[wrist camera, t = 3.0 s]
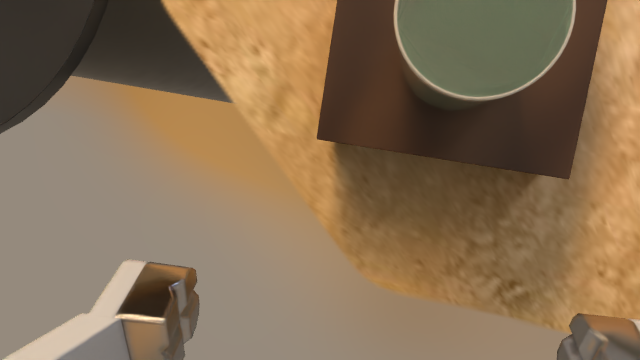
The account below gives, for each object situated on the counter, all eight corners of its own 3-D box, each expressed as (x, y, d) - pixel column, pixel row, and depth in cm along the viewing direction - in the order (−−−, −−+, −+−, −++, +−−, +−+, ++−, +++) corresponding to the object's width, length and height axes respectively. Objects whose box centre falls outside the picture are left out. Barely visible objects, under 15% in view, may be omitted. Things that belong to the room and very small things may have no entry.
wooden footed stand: (331, 138, 36) (316, 139, 30) (357, -34, 35) (347, -68, 29) (541, 171, 34) (569, 179, 28) (578, -12, 32) (616, -44, 26)
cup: (389, 103, 29) (380, 87, 19) (409, -12, 28) (409, -88, 19) (504, 119, 28) (556, 112, 18) (527, 1, 27) (594, -73, 18)
